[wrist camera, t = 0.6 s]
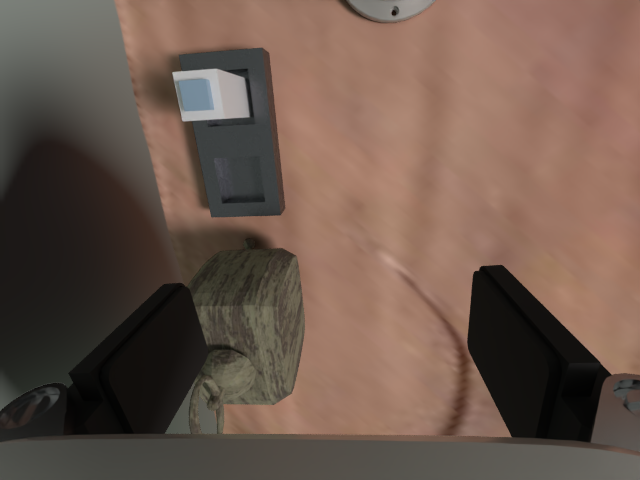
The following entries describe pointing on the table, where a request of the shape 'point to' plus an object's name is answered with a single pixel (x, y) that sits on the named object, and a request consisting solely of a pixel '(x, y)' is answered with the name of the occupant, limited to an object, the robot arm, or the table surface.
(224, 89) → the plug
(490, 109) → the table surface
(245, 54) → the panel
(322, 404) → the table surface
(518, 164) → the table surface
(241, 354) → the tabletop clock
